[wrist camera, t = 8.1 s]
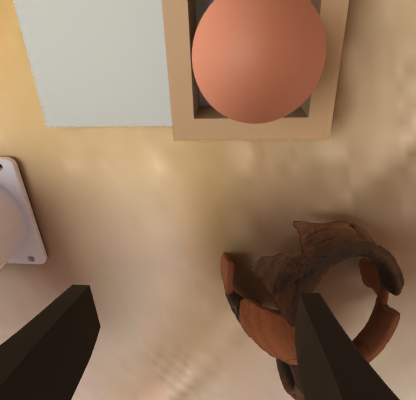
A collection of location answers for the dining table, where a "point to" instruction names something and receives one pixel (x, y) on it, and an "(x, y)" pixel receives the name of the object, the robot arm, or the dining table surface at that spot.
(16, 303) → the dining table surface
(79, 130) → the dining table surface
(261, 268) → the brown curved piece
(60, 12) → the mount
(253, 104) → the pin
